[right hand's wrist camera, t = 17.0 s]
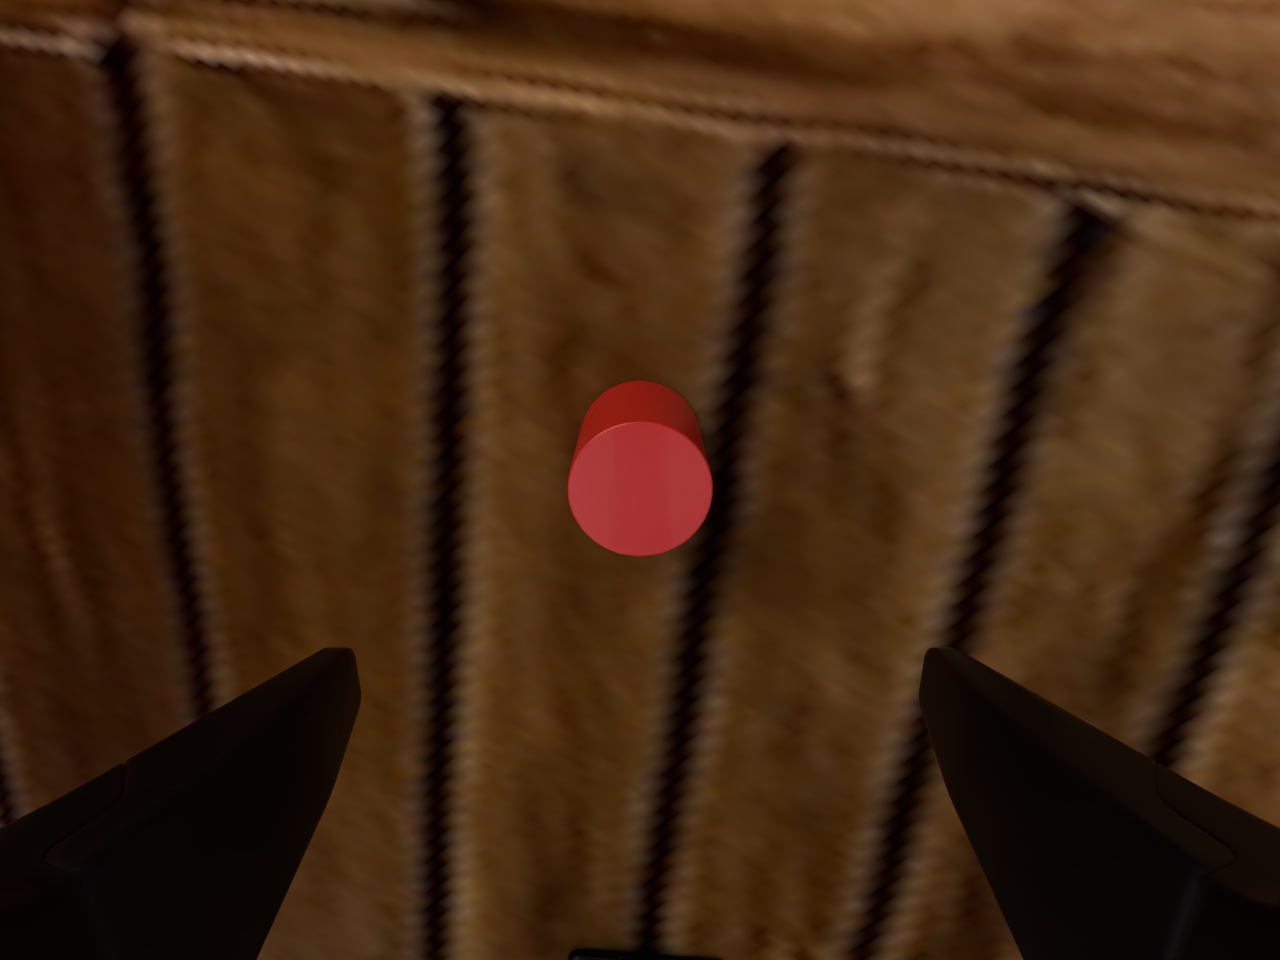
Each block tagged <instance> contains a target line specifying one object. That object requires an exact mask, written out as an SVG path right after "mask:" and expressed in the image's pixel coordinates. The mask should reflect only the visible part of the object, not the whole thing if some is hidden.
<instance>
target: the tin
mask: <svg viewBox="0 0 1280 960" xmlns="http://www.w3.org/2000/svg"><path fill="white" fill-rule="evenodd" d="M712 496H713V482H712V476H711V471H710V468H709V464H708V460H707V456H706V452H705V448H704V444H703V440H702V436H701V432H700V428H699V424H698V421H697V418H696V416H695V414H694V412H693V410H692V408H691V407H690V406H689V404H688V403H687V402H686V401H685V400H684V399H683V398H682V397H681V396H680V395H679V394H678V393H676V392H675V391H673V390H672V389H670V388H668V387H666V386H664V385H661V384H658V383H654V382H648V381H632V382H626V383H623V384H619V385H617V386H614V387H612V388H611V389H609V390H607V391H605V392H604V393H603V394H602V395H600V396H599V397H598V398H597V399H596V400H595V401H594V402H593V404H592V405H591V406H590V407H589V409H588V411H587V413H586V415H585V417H584V420H583V422H582V426H581V430H580V434H579V438H578V442H577V446H576V450H575V454H574V458H573V462H572V466H571V470H570V474H569V478H568V498H569V504H570V507H571V510H572V513H573V515H574V517H575V519H576V521H577V522H578V524H579V525H580V527H581V528H582V529H583V530H584V532H585V533H586V534H587V535H588V536H589V537H590V538H592V539H593V540H594V541H595V542H597V543H598V544H600V545H601V546H603V547H605V548H607V549H609V550H611V551H614V552H617V553H620V554H625V555H631V556H650V555H656V554H660V553H664V552H666V551H669V550H672V549H674V548H676V547H678V546H679V545H681V544H682V543H684V542H685V541H687V540H688V539H689V538H690V537H691V536H692V535H694V533H695V532H696V531H697V530H698V529H699V528H700V526H701V525H702V523H703V522H704V520H705V518H706V516H707V514H708V512H709V509H710V506H711V501H712Z"/></svg>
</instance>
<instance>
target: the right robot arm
mask: <svg viewBox="0 0 1280 960" xmlns="http://www.w3.org/2000/svg"><path fill="white" fill-rule="evenodd" d="M360 702H361V689H360V683H359V676H358V670H357V664H356V658H355V654H354V652H353V650H351V649H350V648H324V649H322V650H320V651H319V652H317V653H315V654H313V655H311V656H310V657H308V658H306V659H304V660H303V661H301V662H299V663H297V664H296V665H294V666H292V667H290V668H289V669H287V670H285V671H283V672H282V673H280V674H278V675H276V676H274V677H273V678H271V679H269V680H267V681H266V682H264V683H262V684H260V685H259V686H257V687H255V688H253V689H252V690H250V691H248V692H246V693H245V694H243V695H241V696H239V697H238V698H236V699H234V700H232V701H230V702H229V703H227V704H225V705H223V706H222V707H220V708H218V709H216V710H215V711H213V712H211V713H209V714H208V715H206V716H204V717H202V718H201V719H199V720H197V721H195V722H193V723H192V724H190V725H188V726H186V727H185V728H183V729H181V730H179V731H178V732H176V733H174V734H172V735H171V736H169V737H167V738H165V739H164V740H162V741H160V742H158V743H157V744H155V745H153V746H151V747H149V748H148V749H146V750H144V751H142V752H141V753H139V754H137V755H135V756H134V757H132V758H130V759H128V760H127V761H126V762H125V765H124V764H119V765H117V766H116V767H114V768H112V769H111V770H109V771H107V772H105V773H104V774H102V775H100V776H98V777H97V778H95V779H93V780H91V781H89V782H87V783H86V784H84V785H82V786H80V787H78V788H77V789H75V790H73V791H71V792H69V793H67V794H66V795H64V796H62V797H60V798H58V799H56V800H54V801H52V802H51V803H49V804H47V805H45V806H43V807H41V808H39V809H37V810H35V811H33V812H31V813H29V814H27V815H25V816H23V817H21V818H19V819H17V820H15V821H13V822H11V823H9V824H7V825H5V826H3V827H1V828H0V960H256V959H257V957H258V955H259V953H260V951H261V948H262V946H263V944H264V942H265V940H266V937H267V935H268V933H269V931H270V929H271V926H272V924H273V922H274V920H275V918H276V915H277V913H278V911H279V909H280V907H281V904H282V902H283V900H284V898H285V895H286V893H287V891H288V889H289V887H290V884H291V882H292V880H293V878H294V876H295V873H296V871H297V869H298V867H299V865H300V862H301V860H302V858H303V856H304V854H305V851H306V849H307V847H308V845H309V843H310V840H311V838H312V836H313V834H314V832H315V829H316V827H317V825H318V823H319V821H320V818H321V816H322V814H323V812H324V810H325V807H326V805H327V803H328V800H329V798H330V795H331V793H332V790H333V787H334V785H335V782H336V779H337V776H338V773H339V770H340V767H341V763H342V760H343V757H344V754H345V751H346V748H347V745H348V742H349V739H350V735H351V732H352V729H353V726H354V723H355V720H356V717H357V714H358V711H359V707H360ZM919 702H920V707H921V711H922V714H923V717H924V720H925V723H926V726H927V729H928V732H929V735H930V739H931V742H932V745H933V748H934V751H935V754H936V757H937V760H938V763H939V767H940V770H941V773H942V776H943V779H944V782H945V785H946V787H947V790H948V793H949V795H950V798H951V800H952V803H953V805H954V807H955V810H956V812H957V814H958V816H959V818H960V821H961V823H962V825H963V827H964V829H965V832H966V834H967V836H968V838H969V840H970V843H971V845H972V847H973V849H974V851H975V854H976V856H977V858H978V860H979V862H980V865H981V867H982V869H983V871H984V873H985V876H986V878H987V880H988V882H989V884H990V887H991V889H992V891H993V893H994V896H995V898H996V900H997V902H998V904H999V907H1000V909H1001V911H1002V913H1003V915H1004V918H1005V920H1006V922H1007V924H1008V926H1009V929H1010V931H1011V933H1012V935H1013V937H1014V940H1015V942H1016V944H1017V946H1018V948H1019V951H1020V953H1021V955H1022V957H1023V959H1024V960H1280V828H1279V827H1277V826H1275V825H1273V824H1271V823H1269V822H1267V821H1265V820H1263V819H1261V818H1259V817H1257V816H1255V815H1253V814H1251V813H1249V812H1247V811H1245V810H1243V809H1241V808H1239V807H1237V806H1235V805H1233V804H1231V803H1229V802H1228V801H1226V800H1224V799H1222V798H1220V797H1218V796H1216V795H1214V794H1213V793H1211V792H1209V791H1207V790H1205V789H1203V788H1202V787H1200V786H1198V785H1196V784H1194V783H1193V782H1191V781H1189V780H1187V779H1185V778H1183V777H1182V776H1180V775H1178V774H1176V773H1175V772H1173V771H1171V770H1169V769H1168V768H1166V767H1164V766H1163V765H1161V764H1156V765H1155V762H1154V761H1153V760H1152V759H1150V758H1148V757H1146V756H1145V755H1143V754H1141V753H1139V752H1138V751H1136V750H1134V749H1132V748H1131V747H1129V746H1127V745H1125V744H1124V743H1122V742H1120V741H1118V740H1116V739H1115V738H1113V737H1111V736H1109V735H1108V734H1106V733H1104V732H1102V731H1101V730H1099V729H1097V728H1095V727H1094V726H1092V725H1090V724H1088V723H1087V722H1085V721H1083V720H1081V719H1079V718H1078V717H1076V716H1074V715H1072V714H1071V713H1069V712H1067V711H1065V710H1064V709H1062V708H1060V707H1058V706H1057V705H1055V704H1053V703H1051V702H1050V701H1048V700H1046V699H1044V698H1042V697H1041V696H1039V695H1037V694H1035V693H1034V692H1032V691H1030V690H1028V689H1027V688H1025V687H1023V686H1021V685H1020V684H1018V683H1016V682H1014V681H1013V680H1011V679H1009V678H1007V677H1005V676H1004V675H1002V674H1000V673H998V672H997V671H995V670H993V669H991V668H990V667H988V666H986V665H984V664H983V663H981V662H979V661H977V660H976V659H974V658H972V657H970V656H969V655H967V654H965V653H963V652H961V651H960V650H958V649H956V648H930V649H929V650H927V652H926V654H925V658H924V664H923V670H922V676H921V683H920V689H919ZM568 960H716V959H706V958H693V957H680V956H666V955H653V954H640V953H627V952H614V951H601V950H588V949H576V950H573V951H572V952H570V953H569V956H568Z"/></svg>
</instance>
